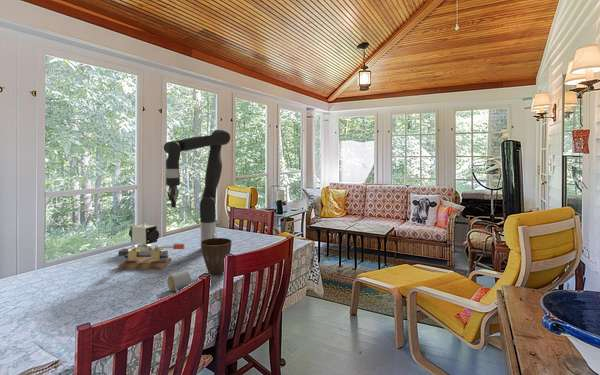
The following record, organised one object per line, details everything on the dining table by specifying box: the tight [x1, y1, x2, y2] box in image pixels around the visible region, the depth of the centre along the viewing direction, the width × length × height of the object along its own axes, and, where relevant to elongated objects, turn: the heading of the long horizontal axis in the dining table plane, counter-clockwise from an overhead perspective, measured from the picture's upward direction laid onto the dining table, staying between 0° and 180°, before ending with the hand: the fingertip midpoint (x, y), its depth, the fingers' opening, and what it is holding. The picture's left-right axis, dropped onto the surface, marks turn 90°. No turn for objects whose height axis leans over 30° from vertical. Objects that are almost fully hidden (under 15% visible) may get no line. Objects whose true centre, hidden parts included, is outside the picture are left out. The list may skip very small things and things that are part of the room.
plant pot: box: [200, 237, 232, 276], centre depth 169 cm, size 15×15×16 cm
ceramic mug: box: [167, 269, 192, 293], centre depth 146 cm, size 11×8×8 cm
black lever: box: [117, 244, 138, 257], centre depth 173 cm, size 2×15×2 cm, turn 1°
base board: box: [118, 257, 173, 270], centre depth 180 cm, size 22×14×2 cm, turn 92°
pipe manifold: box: [122, 247, 169, 263], centre depth 180 cm, size 22×5×7 cm, turn 92°
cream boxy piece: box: [128, 222, 160, 250], centre depth 204 cm, size 18×8×18 cm, turn 65°
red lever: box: [154, 243, 185, 250], centre depth 180 cm, size 2×15×2 cm, turn 92°
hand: (173, 207), depth 193 cm, fingers closed
